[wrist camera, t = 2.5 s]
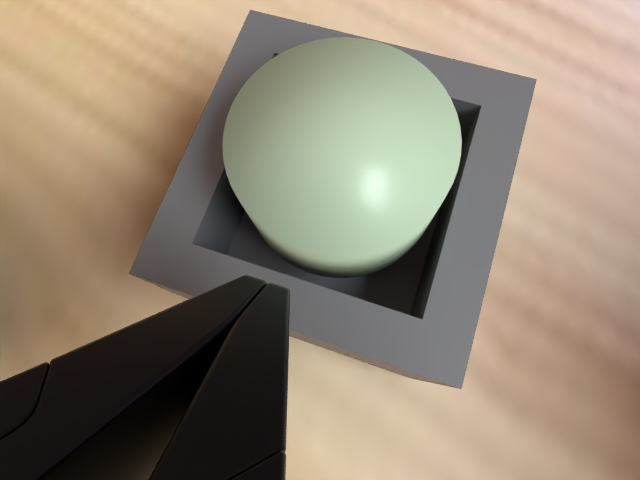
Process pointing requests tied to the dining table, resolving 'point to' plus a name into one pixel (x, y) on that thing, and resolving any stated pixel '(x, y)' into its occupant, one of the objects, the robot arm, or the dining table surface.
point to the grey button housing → (369, 290)
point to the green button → (342, 154)
